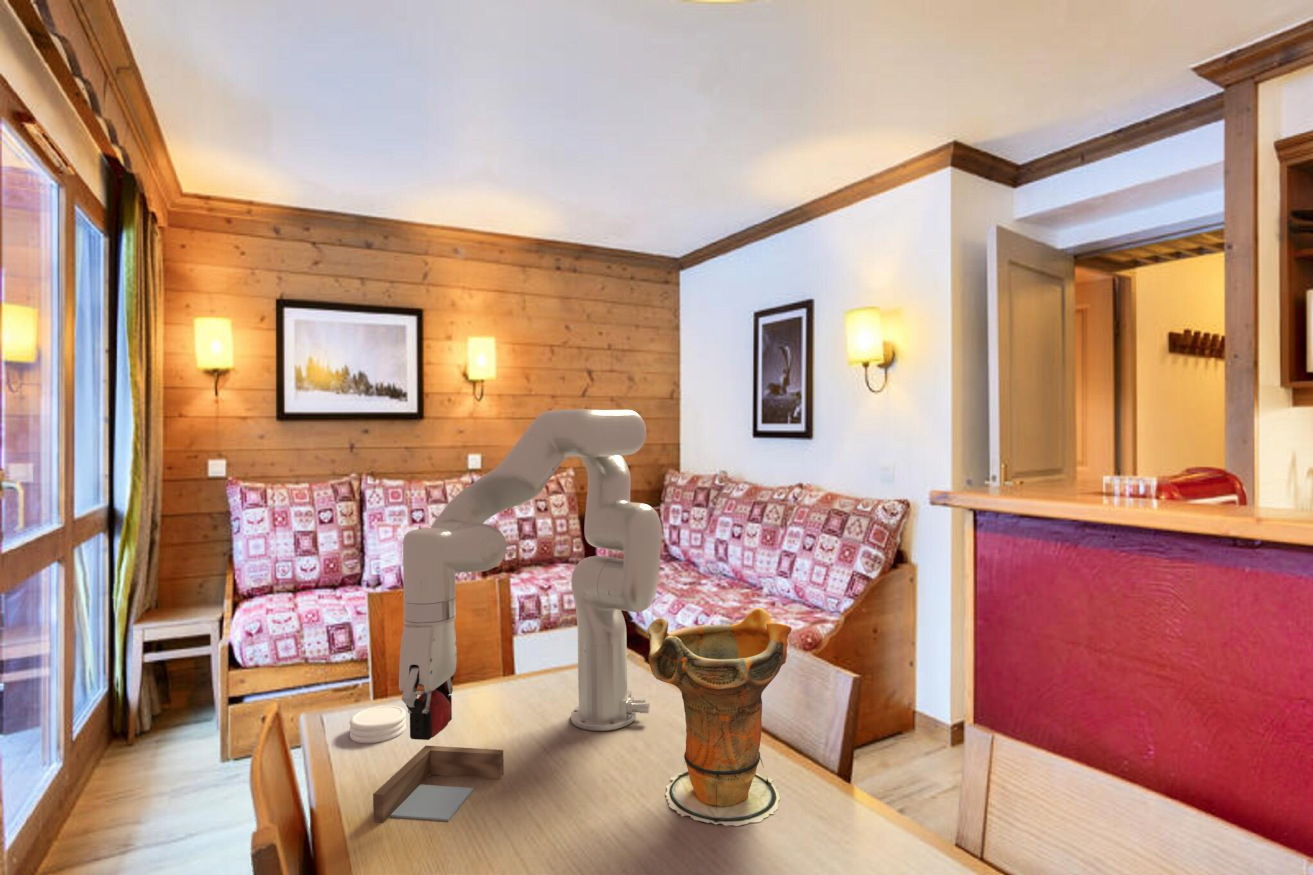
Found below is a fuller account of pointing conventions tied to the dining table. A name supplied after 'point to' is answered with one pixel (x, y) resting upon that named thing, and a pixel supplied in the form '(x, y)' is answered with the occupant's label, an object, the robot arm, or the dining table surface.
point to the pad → (433, 802)
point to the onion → (438, 711)
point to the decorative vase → (721, 713)
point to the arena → (435, 773)
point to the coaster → (377, 724)
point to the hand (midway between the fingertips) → (431, 728)
